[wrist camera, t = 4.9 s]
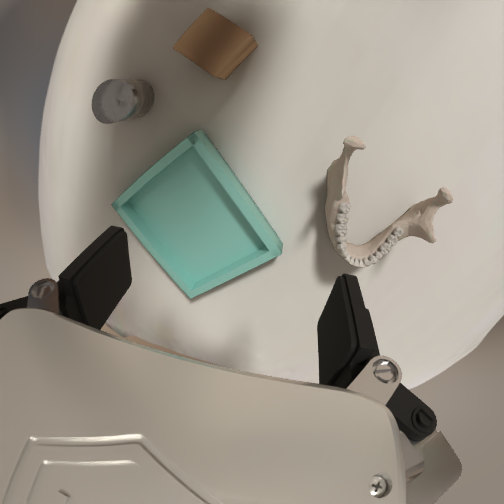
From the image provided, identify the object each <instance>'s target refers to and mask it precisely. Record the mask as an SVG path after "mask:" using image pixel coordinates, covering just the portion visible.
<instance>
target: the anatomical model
mask: <svg viewBox="0 0 504 504" xmlns="http://www.w3.org/2000/svg"><path fill="white" fill-rule="evenodd" d="M343 144H344V149H343V152H342V154H341V156H340V158H338V159H337V160H334V161H333V163H332V165H331V166H330V167H329V168H328V175H327V200H326V205H325V214H326V221H327V227H328V234H329V238H330V240H331V243H332V245H333V247H334V249H335V250H336V251H337V252H338V253H339V255H340V256H342V257H343V258H344V260H345V261H346V262H348V263H349V264H350V265H353V266H355V267H360V268H363V267H365V266H370V265H371V264H375V263H376V261H377V260H380V259H381V258H382V256H383V255H386V254H388V253H389V252H390V250H391V246H394V245H395V244H396V243H397V241H399V240H401V239H403V238H405V237H408V236H416V237H420V238H422V239H424V240H426V241H428V242H429V243H434V242H436V239H435V236H434V231H433V225H432V220H433V217H434V214H435V213H436V211H437V210H438V209H439V208H440V207H442V206H443V205H445V204H450V203H452V200H453V197H452V195H451V193H450V191H449V190H448V189H446V188H444V187H443V188H440V189H439V192H438V195H437V196H436V197H433V198H429V199H427V200H424V201H421V202H419V203H417V204H414V205H413V206H412V207H411V208H409V210H408V211H407V212H406V213H405V214H404V215H403V216H401V217H400V218H399V219H398V220H397V221H395V222H394V223H392V224H391V225H390V226H389V227H387V228H386V229H385V230H384V231H383V232H381V233H380V234H379V235H377V236H376V237H374V238H373V239H372V240H370V241H369V242H367V243H365V244H362V245H357V246H356V245H354V244H350V243H347V242H346V238H345V235H346V234H347V226H346V224H345V223H347V222H348V214H347V213H348V212H349V209H350V205H349V199H348V196H347V194H346V191H345V186H346V181H347V175H348V162H349V159H350V156H351V155H352V153H353V151H355V150H356V149H364V148H365V145H364V143H363V141H362V140H361V139H360V138H358V137H355V136H351V137H347V138H346V139H345V140H344V142H343Z"/></svg>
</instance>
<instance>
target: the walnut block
mask: <svg viewBox="0 0 504 504" xmlns="http://www.w3.org/2000/svg"><path fill="white" fill-rule="evenodd" d="M257 46H258V45H257V43H256V42H255V40H254V38H253V37H252V35H251V34H249V33H248V32H246V31H245V30H243V29H242V28H240V27H239V26H237V25H236V24H234V23H233V22H231V21H230V20H228V19H226V18H225V17H223V16H222V15H220V14H218V13H217V12H215V11H213V10H211V9H210V8H207V9H206V10H205V11H204V12H203V13H202V14H201V15H200V16H199V18H198V19H197V20H196V21H195V22H194V23H193V24H192V25H191V26H190V27H189V28H188V30H187V31H186V32H185V33H184V34H183V35H182V36H181V38H180V39H179V40H178V41H177V42H176V44H175V45H174V46H173V47H172V48H173V49H175V50H176V51H178V52H179V53H181V54H182V55H184V56H185V57H187V58H188V59H190V60H191V61H193V62H194V63H196V64H197V65H198V66H200V67H201V68H203V69H204V70H206V71H207V72H208V73H210V74H211V75H212V76H215V77H218V78H222V79H225V80H226V79H227V78H228V77H229V75H230V74H231V73H232V72H233V71H234V70H235V69H236V68H237V67H238V66H239V65H240V64H241V63H242V61H243V60H244V59H245V58H246V57H247V56H248V55H249V54H250V53H251V52H252V51H253V50H254V49H255V48H256V47H257Z"/></svg>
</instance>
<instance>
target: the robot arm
mask: <svg viewBox="0 0 504 504" xmlns="http://www.w3.org/2000/svg"><path fill="white" fill-rule="evenodd" d="M58 277H59V281H58V282H56V281H55V280H53V279H49V278H46V279H41V280H38V281H37V282H35V283H34V284H33V285H32V286H31V287H30V289H29V292H28V296H27V297H23V298H19V299H16V300H12V301H9V302H6V303H2V304H0V504H434V503H435V502H436V501H437V500H438V499H439V498H440V497H441V496H442V495H443V494H444V493H445V492H446V491H447V490H448V489H449V488H450V487H451V486H452V485H453V484H454V483H455V482H456V481H457V480H458V478H459V477H460V475H461V472H462V464H461V462H460V460H459V458H458V457H457V455H456V453H455V452H454V450H453V449H452V447H451V446H450V444H449V443H448V441H447V440H446V438H445V437H444V435H443V434H442V432H441V431H439V432H437V431H436V429H435V428H436V426H437V420H436V416H435V414H434V412H433V411H432V410H431V409H430V408H429V407H428V406H427V405H426V404H425V403H423V402H422V401H421V400H420V399H419V398H418V397H416V396H415V395H414V394H413V393H412V392H410V391H409V390H408V389H407V388H406V387H405V386H403V385H402V384H401V383H400V382H401V379H402V372H401V369H400V367H399V365H398V364H397V363H396V362H395V361H394V360H393V359H391V358H389V357H386V356H380V353H379V349H378V345H377V340H376V336H375V332H374V328H373V324H372V320H371V316H370V312H369V310H368V309H366V308H365V305H364V301H363V297H362V294H361V290H360V286H359V283H358V279H357V277H356V276H353V275H348V274H343V275H342V276H338V277H337V279H336V282H335V284H334V286H333V289H332V291H331V294H330V296H329V298H328V301H327V303H326V305H325V307H324V310H323V312H322V314H321V316H320V319H319V321H318V326H317V332H318V353H319V384H316V383H309V382H302V381H296V380H289V379H284V378H278V377H272V376H266V375H260V374H255V373H250V372H245V371H240V370H235V369H231V368H226V367H222V366H217V365H213V364H209V363H205V362H201V361H196V360H193V359H189V358H185V357H182V356H178V355H174V354H171V353H167V352H164V351H160V350H157V349H154V348H151V347H147V346H144V345H141V344H138V343H135V342H132V341H129V340H126V339H123V338H120V337H117V336H115V335H112V334H109V333H106V332H103V331H101V330H100V329H101V328H102V326H103V325H104V323H105V322H106V320H107V319H108V317H109V316H110V314H111V313H112V312H113V310H114V309H115V307H116V306H117V304H118V303H119V301H120V300H121V298H122V297H123V296H124V294H125V293H126V291H127V290H128V289H129V287H130V285H131V282H132V277H131V269H130V260H129V251H128V240H127V233H126V232H124V229H123V228H120V227H116V226H110V227H109V228H108V229H107V230H106V231H105V232H104V233H102V234H101V235H100V236H99V237H98V238H97V239H96V240H95V241H94V242H93V243H92V244H90V245H89V246H88V247H87V248H86V249H85V250H84V251H83V252H82V253H81V254H80V255H79V256H78V257H77V258H76V259H75V260H74V261H73V262H72V263H71V264H70V265H69V266H68V267H67V268H66V269H65V270H64V271H63V272H62V273H61V274H60V275H59V276H58Z"/></svg>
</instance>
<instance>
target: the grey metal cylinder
mask: <svg viewBox="0 0 504 504" xmlns="http://www.w3.org/2000/svg"><path fill="white" fill-rule="evenodd" d="M153 101H154V93H153V90H152V87H151V86H150V85H149V84H148V83H147V82H145V81H142V80H107V81H105V82H103V83H102V84H100V85H99V86H98V88H97V89H96V91H95V93H94V95H93V99H92V110H93V113H94V115H95V117H96V118H97V119H98V120H99V121H100V122H102V123H105V124H110V123H115V122H119V121H124V120H129V119H133V118H138V117H141V116H143V115H145V114H146V113H147V112H148V111H149V110H150V108H151V107H152V104H153Z"/></svg>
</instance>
